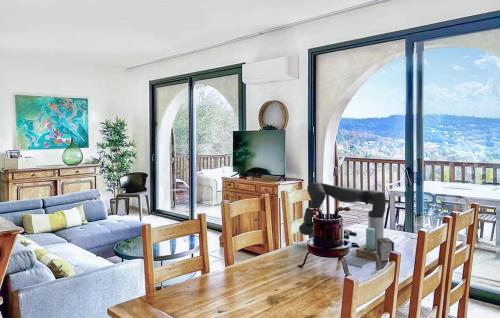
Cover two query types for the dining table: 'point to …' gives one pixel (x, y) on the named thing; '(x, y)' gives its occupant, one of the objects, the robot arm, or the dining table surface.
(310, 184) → the robot arm
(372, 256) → the walnut holder
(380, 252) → the coffee box
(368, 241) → the teal peg
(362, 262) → the slate mat
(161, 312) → the dining table surface
